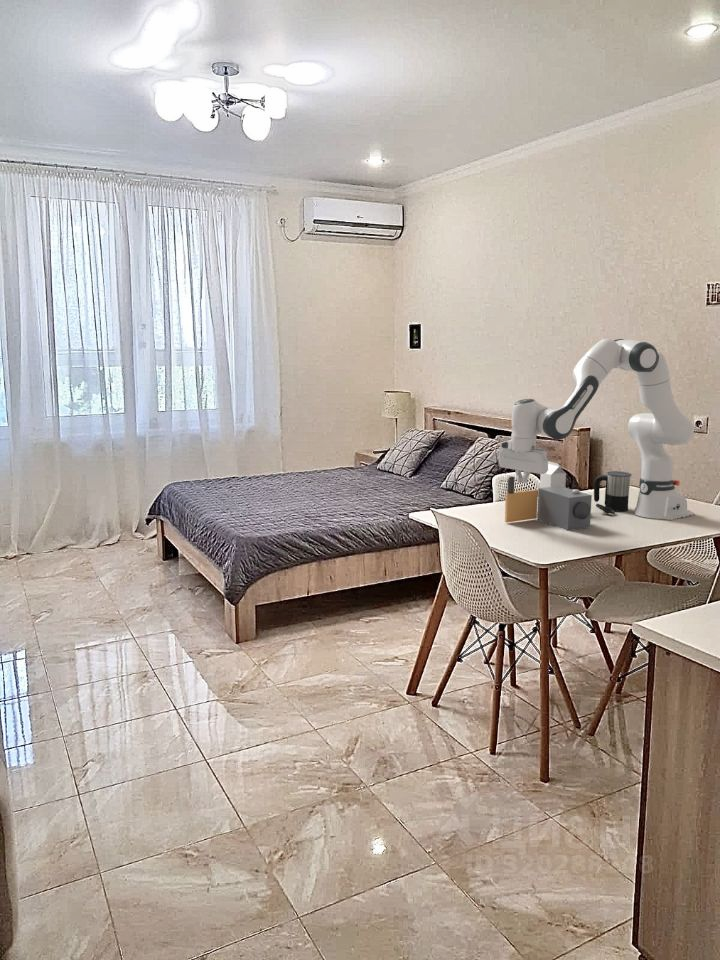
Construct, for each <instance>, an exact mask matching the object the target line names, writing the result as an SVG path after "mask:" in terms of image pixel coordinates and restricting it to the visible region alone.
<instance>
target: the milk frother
mask: <svg viewBox="0 0 720 960" xmlns="http://www.w3.org/2000/svg"><path fill="white" fill-rule="evenodd" d="M631 476H632V473H630V472H627V471H618V470H613V471H611V470H610V471H607V472H606V474H602V475H601V474H600V475H597V477H596V478H595V479H594V481H593V501H594V502H596V504H595V507H596V508H598V509H599V510H601V511H602V512H604V513H606V514H607V515H609V514H612V515H614V514H615V513H616V512H627V511H629V498H630V497H629V494H630V483H631ZM602 481H605V492H604V505H603V504H600V503H597V502H599V500H600V483H601V482H602Z"/></svg>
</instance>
